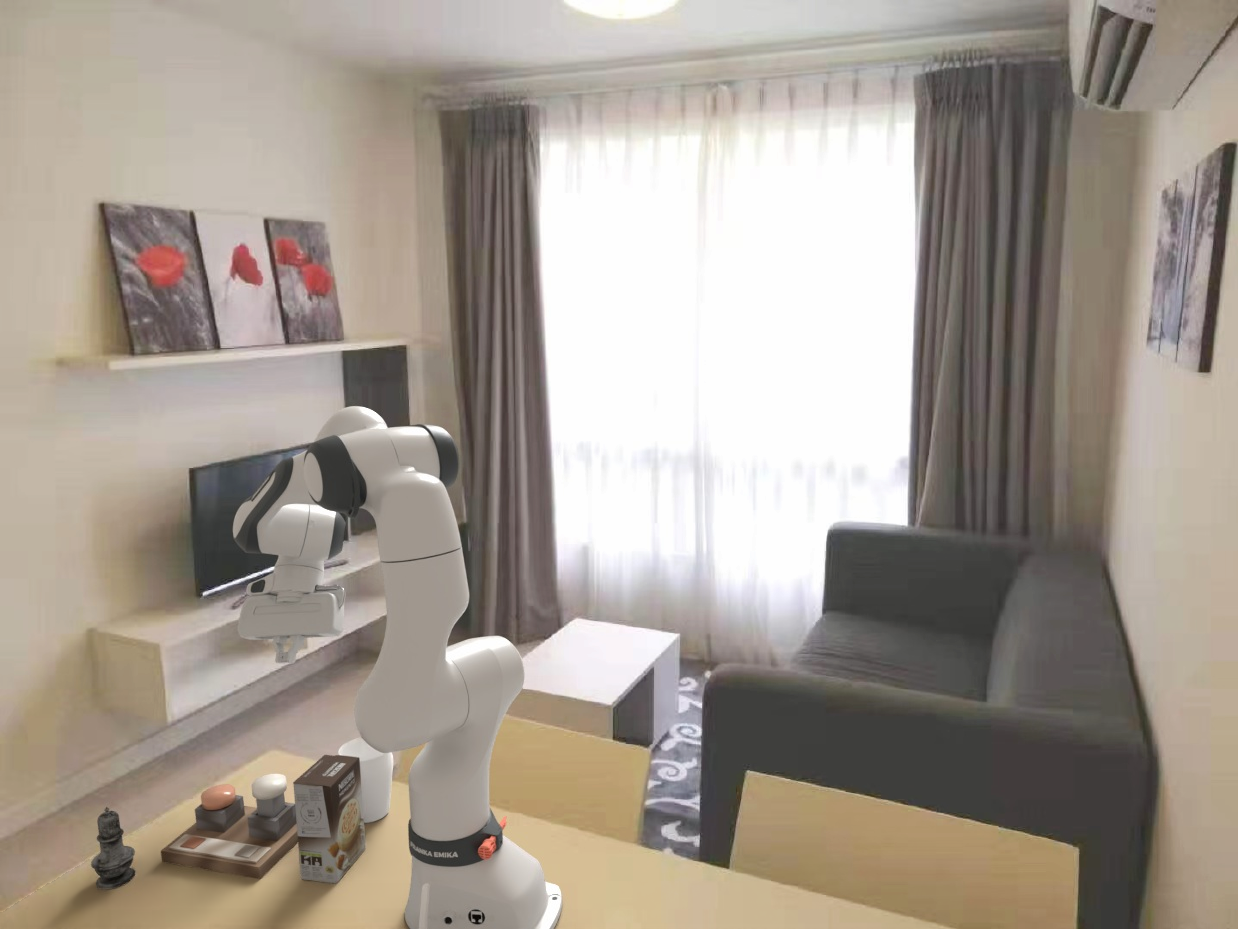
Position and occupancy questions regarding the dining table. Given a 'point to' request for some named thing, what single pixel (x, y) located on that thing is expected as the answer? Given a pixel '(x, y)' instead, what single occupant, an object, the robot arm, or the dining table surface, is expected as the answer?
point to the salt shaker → (112, 853)
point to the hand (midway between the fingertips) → (284, 663)
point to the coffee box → (329, 818)
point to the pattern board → (234, 840)
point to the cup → (372, 777)
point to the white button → (269, 794)
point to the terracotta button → (218, 797)
